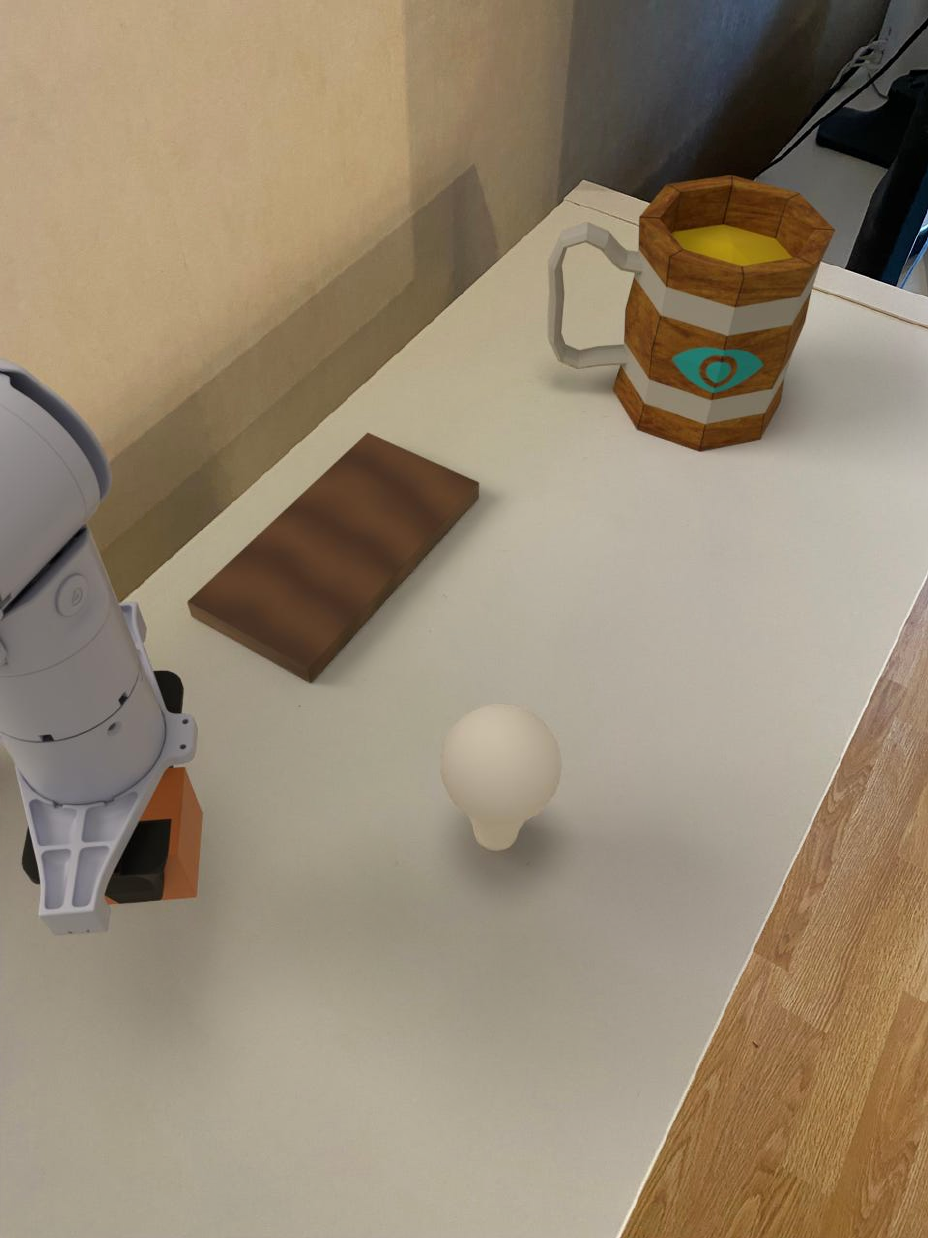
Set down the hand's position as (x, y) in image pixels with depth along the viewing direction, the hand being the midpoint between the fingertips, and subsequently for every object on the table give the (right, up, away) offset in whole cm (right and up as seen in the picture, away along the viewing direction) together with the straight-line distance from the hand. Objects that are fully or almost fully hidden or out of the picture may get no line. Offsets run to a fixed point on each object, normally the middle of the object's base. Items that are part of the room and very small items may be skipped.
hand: (145, 845), depth 48 cm
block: (0, -1, +1) cm, 1 cm away
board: (+7, +15, +23) cm, 28 cm away
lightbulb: (+17, -2, +10) cm, 20 cm away
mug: (+31, +29, +35) cm, 55 cm away
